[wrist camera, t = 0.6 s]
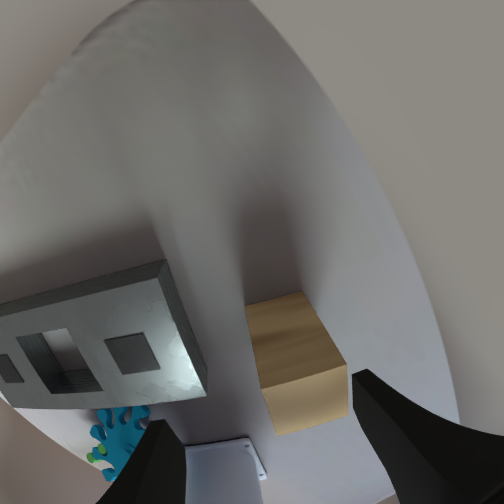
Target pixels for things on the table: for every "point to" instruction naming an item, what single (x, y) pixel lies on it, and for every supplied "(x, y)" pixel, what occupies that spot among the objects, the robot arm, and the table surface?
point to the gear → (117, 438)
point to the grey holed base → (103, 344)
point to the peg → (297, 364)
